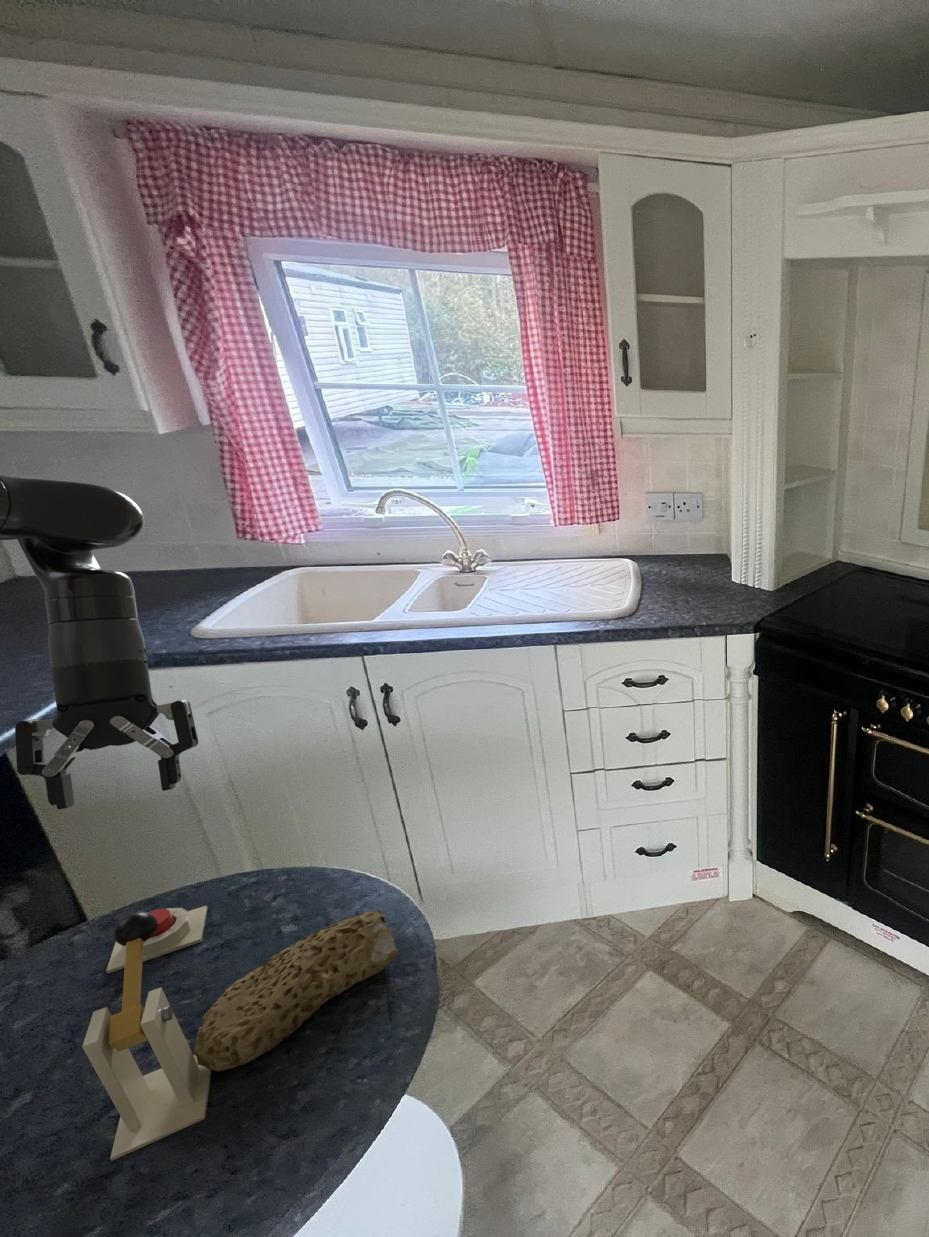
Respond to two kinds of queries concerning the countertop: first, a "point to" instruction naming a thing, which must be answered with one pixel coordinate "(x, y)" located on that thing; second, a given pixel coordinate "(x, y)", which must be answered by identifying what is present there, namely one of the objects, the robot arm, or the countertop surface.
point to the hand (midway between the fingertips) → (119, 798)
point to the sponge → (292, 989)
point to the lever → (131, 979)
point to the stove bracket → (149, 1078)
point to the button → (162, 921)
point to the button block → (167, 937)
